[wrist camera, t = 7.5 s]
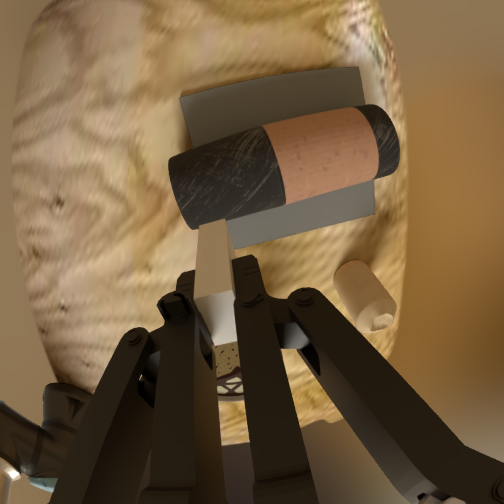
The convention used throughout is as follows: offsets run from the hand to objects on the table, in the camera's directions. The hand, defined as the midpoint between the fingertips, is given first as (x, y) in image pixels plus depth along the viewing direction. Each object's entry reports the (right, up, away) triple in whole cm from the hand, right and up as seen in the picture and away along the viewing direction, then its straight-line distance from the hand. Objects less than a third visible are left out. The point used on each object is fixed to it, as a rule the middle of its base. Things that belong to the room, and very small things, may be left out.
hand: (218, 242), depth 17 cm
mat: (+6, +10, +13) cm, 17 cm away
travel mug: (-5, +5, +9) cm, 11 cm away
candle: (+16, -4, +22) cm, 28 cm away
